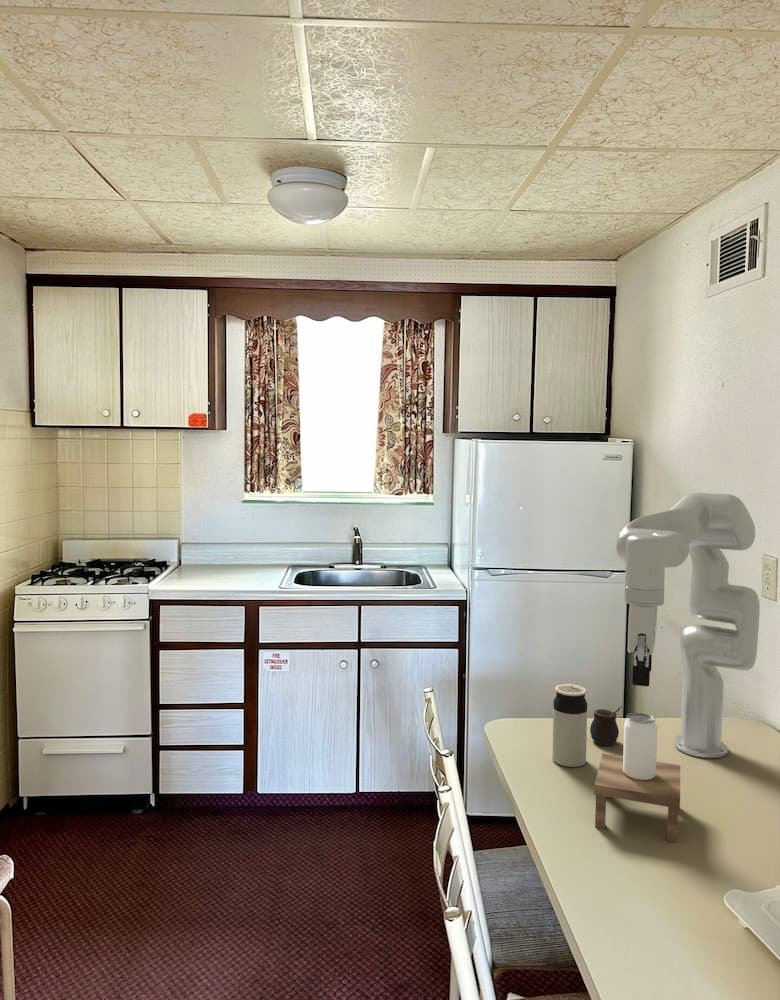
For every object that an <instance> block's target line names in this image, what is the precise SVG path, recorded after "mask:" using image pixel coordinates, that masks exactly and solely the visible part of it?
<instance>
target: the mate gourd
mask: <svg viewBox="0 0 780 1000" xmlns="http://www.w3.org/2000/svg"><path fill="white" fill-rule="evenodd" d="M621 709H622V706H619V707H618V708H617V709H616V710H615V711H613V710H611V709H607V708H598V709H595V710H594V711H593V720H592V722H591V724H590V726H589V732H590V735H591V736H590V738H591V739H592V741H593V742H595V744H598V745H601V746H613V745H614V744H615V743H616V742H617V741H618V738H619V733H620V730H619V726H618V723H617V713H618V712H619V711H620V710H621Z"/></svg>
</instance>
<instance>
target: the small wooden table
mask: <svg viewBox="0 0 780 1000" xmlns="http://www.w3.org/2000/svg"><path fill="white" fill-rule="evenodd" d="M598 766H599V767H598V770H597V773H596V778H595V781H594V786H593V787H594V789H593V790H594V791H593V792H594V793H593V794H594V795H595V815H594V817H595V819H594V827H595V828H597V829H603V830H605V827H606V815H607V813H606V812H607V810H606V807H607V806H606V803H607V799H610V800H611V798H615V799H621V800H627V801H632V802H638V803H643V804H644V803H645V804H650V805H654V806H660V807H667V808H668V809H667V831H666V834H667V836H666V841H667V842H672V843H678V827H679V826H678V824H679V822H678V821H679V809H681V765H680V764H675V763H669V762H662V761H656V776H655V777H654V778H653V779H651V780H646V781H642V780H635V779H632V778H630V777H628V776H626V775H625V773H624V772H623V755H622V756H621V755H617V754H615V755H614V754H608V753H602V754H601V758H600V761H599V765H598Z"/></svg>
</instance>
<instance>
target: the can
mask: <svg viewBox="0 0 780 1000" xmlns="http://www.w3.org/2000/svg"><path fill="white" fill-rule="evenodd" d="M657 745H658V725H657V723H656V718H655V716H653V715H650V714H647V713H643V712H632V713H631V712H630V713H628V714H627V715H626V719H625V720H624V724H623V746H622V747H623V750H622V751H623V755H622V756H623V772H624V773H625V775H626V776H628V777H630V778H632V779H635V780H642V781H646V780H651V779H653V778H654V777H655V776H656V762H657V753H658V752H657V750H658V746H657Z"/></svg>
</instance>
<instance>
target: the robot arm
mask: <svg viewBox="0 0 780 1000" xmlns="http://www.w3.org/2000/svg"><path fill="white" fill-rule="evenodd" d="M755 537H756V527H755V523H754V520H753V518H752V516H751V515H750V512H749V510H748V509H747V507H746V505H745V504H744V502H743V501H742V500H741V498H739V497H738V496H736V495H735V494H729V493H709V492H707V493H706V492H695V493H694V492H693V493H689V494H685V495H684V496H683V497H682V498H680V499H679V500H678V501H677V502H676V503H675V504H674V505H673V506H671V508H669V509H668V510H664V511H663V510H662V511H659V512H656V513H652V514H648V515H643V516H641V517H637V518H635V519H633V520H632V521H630V522H629V523H627V524H626V525H625V526H624V528H622V530H621V531H620V532H619V535H618V537H617V539H616V543H615V549H616V553H617V556H618V557H619V558H620V560H622V561H623V562H625V571H624V573H625V575H624V576H625V577H624V579H625V580H624V602H625V603H626V604H629V609H628V623H627V624H628V627H627V628H628V629H627V652H628V653H629V654H631V653H634V657H633V664H632V679H631V680H632V681H631V682H632V685H633V686H640V687H650V680H651V675H650V673H651V672H652V664H653V663H652V657H653V653H654V648H655V642H656V636H657V623H658V621H657V620H658V619H657V618H658V607H660V606H663V605H664V603H665V600H664V599H665V572H666V571H665V568H676V567H679V566H681V565H682V564H684V563H685V561H686V560H687V558H688V556H690V560H691V577H690V588H689V589H690V591H689V593H690V594H689V611H690V613H691V615H692V616H694V617H695V618H698V619H701V620H706V621H712V622H718V623H726V624H731V625H734V627H735V629H731V628H725V627H720V626H713V625H706V624H691V625H688V626H686V627H684V628H683V629H682V630H681V632H680V637H679V645H680V647H679V648H680V653H681V659H682V660H681V661H682V662H681V663H682V686H681V687H682V688H681V690H682V691H681V692H682V693H681V719H680V720H681V721H680V722H681V723H680V735H677V736H676V737H675V738H674V740H673V745H674V747H675V748H676V749H677V750H679V751H680V752H682V753H684V754H685V755H686V754H687V755H689V756H693V757H698V758H704V759H705V758H706V759H717V758H722V757H725V756H726V755H728V751H729V746H728V745H727V744H726V743H725V742H723V741H722V734H723V732H722V731H723V712H724V711H723V707H724V681H723V677H722V676H721V673H720V672H719V670H718V669H717V667H720V668H725V669H731V670H737V671H749V670H751V669H752V668H753V667H754V666H755V664H756V660H757V655H758V654H757V652H758V641H759V640H758V639H759V626H760V625H759V624H760V614H761V611H760V598H759V595H758V593H757V592H756V591H755V589H753V588H751V587H748V586H745V585H744V586H743V585H737V584H730V583H729V570H730V569H729V567H730V565H729V561H728V559H727V558H726V555H724V553H723V551H722V550H729V551H732V550H733V551H746V550H748V549H750V548H751V547H752V546H753V544H754V543H755Z"/></svg>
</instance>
